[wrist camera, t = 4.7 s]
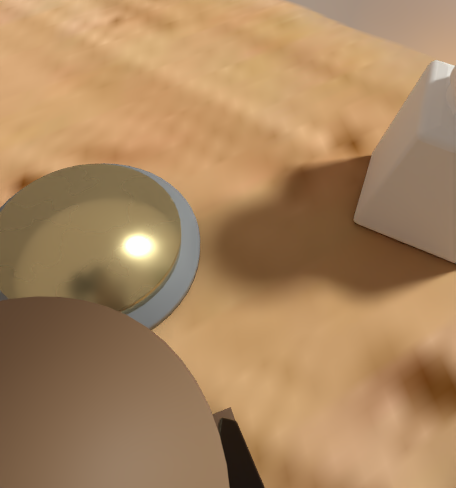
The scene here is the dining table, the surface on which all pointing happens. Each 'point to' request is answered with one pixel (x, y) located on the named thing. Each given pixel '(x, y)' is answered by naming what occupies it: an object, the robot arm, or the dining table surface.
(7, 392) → the gear spindle
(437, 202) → the medicine bottle
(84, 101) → the dining table surface
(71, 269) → the hub
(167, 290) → the plate
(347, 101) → the dining table surface
